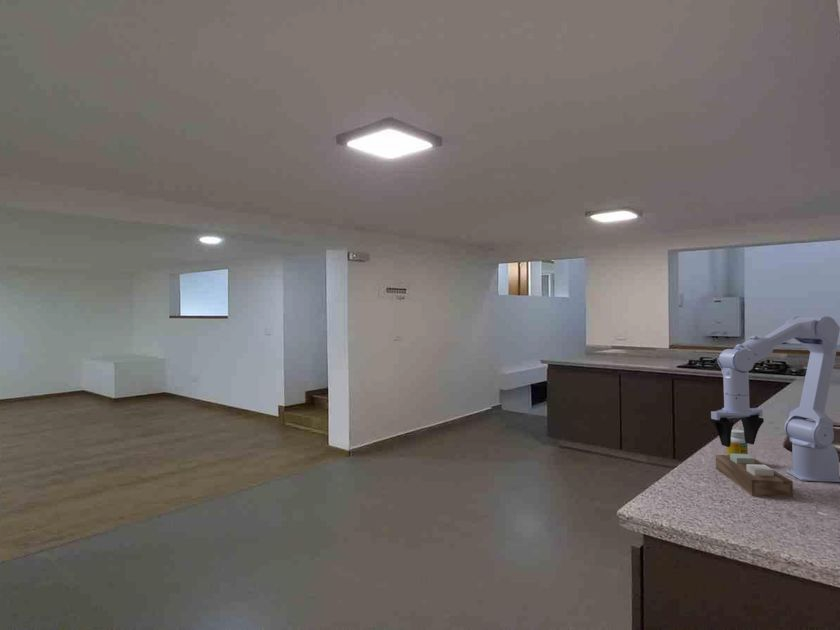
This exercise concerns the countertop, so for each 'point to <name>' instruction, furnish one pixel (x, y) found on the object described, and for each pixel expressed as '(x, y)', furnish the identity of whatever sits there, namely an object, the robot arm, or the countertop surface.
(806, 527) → the countertop surface
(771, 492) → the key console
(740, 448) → the supplement bottle
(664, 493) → the countertop surface
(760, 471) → the off white key
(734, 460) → the sage key
